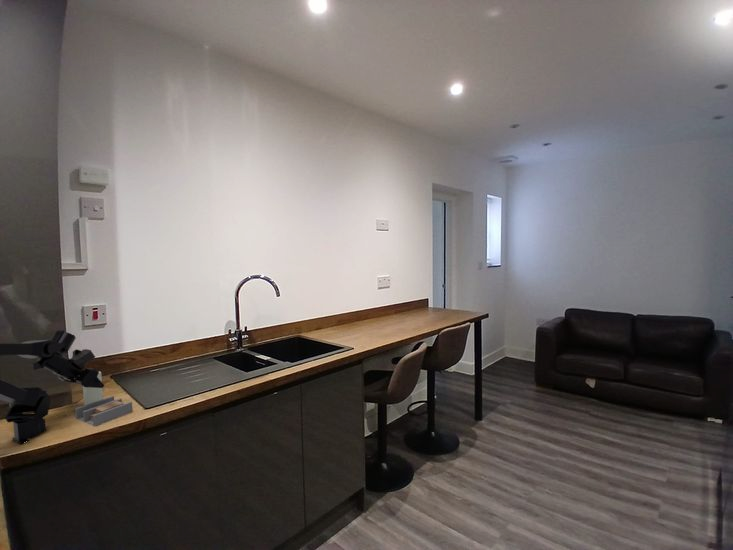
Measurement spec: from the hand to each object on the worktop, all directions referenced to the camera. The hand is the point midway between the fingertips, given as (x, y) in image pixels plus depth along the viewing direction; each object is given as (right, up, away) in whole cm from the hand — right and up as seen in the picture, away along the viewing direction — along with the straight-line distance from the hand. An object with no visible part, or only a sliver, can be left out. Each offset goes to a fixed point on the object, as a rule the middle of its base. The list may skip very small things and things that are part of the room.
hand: (96, 384), depth 138 cm
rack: (+9, -9, -8) cm, 15 cm away
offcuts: (+11, -8, -10) cm, 17 cm away
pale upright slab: (0, -8, -1) cm, 8 cm away
